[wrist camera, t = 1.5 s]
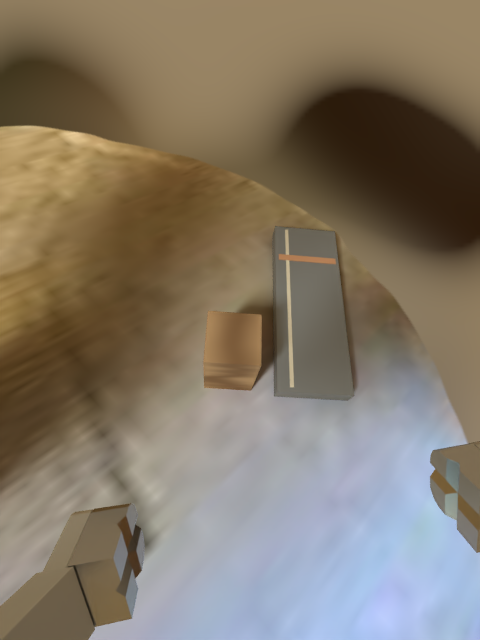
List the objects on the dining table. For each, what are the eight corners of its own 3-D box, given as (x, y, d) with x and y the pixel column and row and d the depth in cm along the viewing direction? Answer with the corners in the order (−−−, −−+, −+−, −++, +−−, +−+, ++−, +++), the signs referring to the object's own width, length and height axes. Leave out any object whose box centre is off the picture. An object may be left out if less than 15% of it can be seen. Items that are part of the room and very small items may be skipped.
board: (274, 396, 36) (277, 391, 35) (272, 236, 46) (275, 225, 45) (347, 400, 37) (354, 395, 35) (330, 241, 47) (335, 230, 45)
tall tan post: (204, 387, 36) (203, 362, 29) (208, 344, 39) (207, 310, 31) (250, 390, 37) (261, 365, 29) (251, 347, 39) (261, 314, 32)
